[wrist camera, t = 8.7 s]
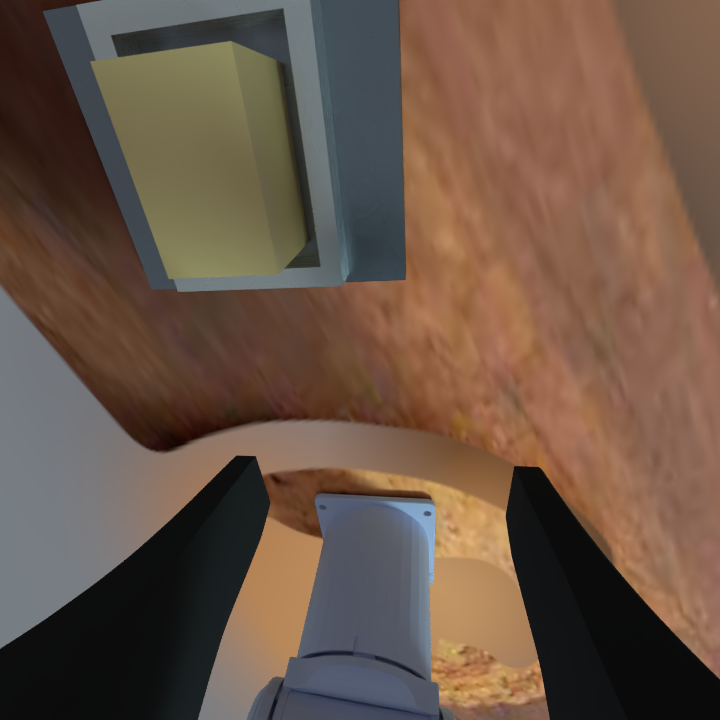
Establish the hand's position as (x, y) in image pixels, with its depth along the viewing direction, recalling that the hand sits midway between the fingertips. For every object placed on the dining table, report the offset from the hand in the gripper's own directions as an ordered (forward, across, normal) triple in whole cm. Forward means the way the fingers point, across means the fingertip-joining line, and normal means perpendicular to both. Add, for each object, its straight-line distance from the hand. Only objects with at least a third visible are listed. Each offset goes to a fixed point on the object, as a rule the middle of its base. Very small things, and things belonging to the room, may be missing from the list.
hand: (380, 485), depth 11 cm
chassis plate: (+9, +6, -8) cm, 14 cm away
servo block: (+8, +6, -8) cm, 13 cm away
